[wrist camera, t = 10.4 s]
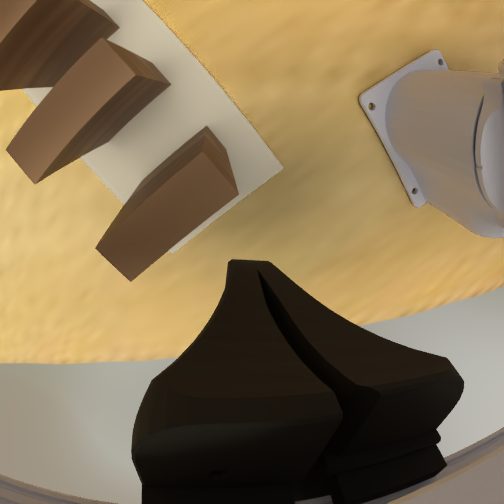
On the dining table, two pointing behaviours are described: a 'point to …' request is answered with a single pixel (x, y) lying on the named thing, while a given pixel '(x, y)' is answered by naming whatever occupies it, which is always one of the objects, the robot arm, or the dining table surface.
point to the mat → (172, 114)
